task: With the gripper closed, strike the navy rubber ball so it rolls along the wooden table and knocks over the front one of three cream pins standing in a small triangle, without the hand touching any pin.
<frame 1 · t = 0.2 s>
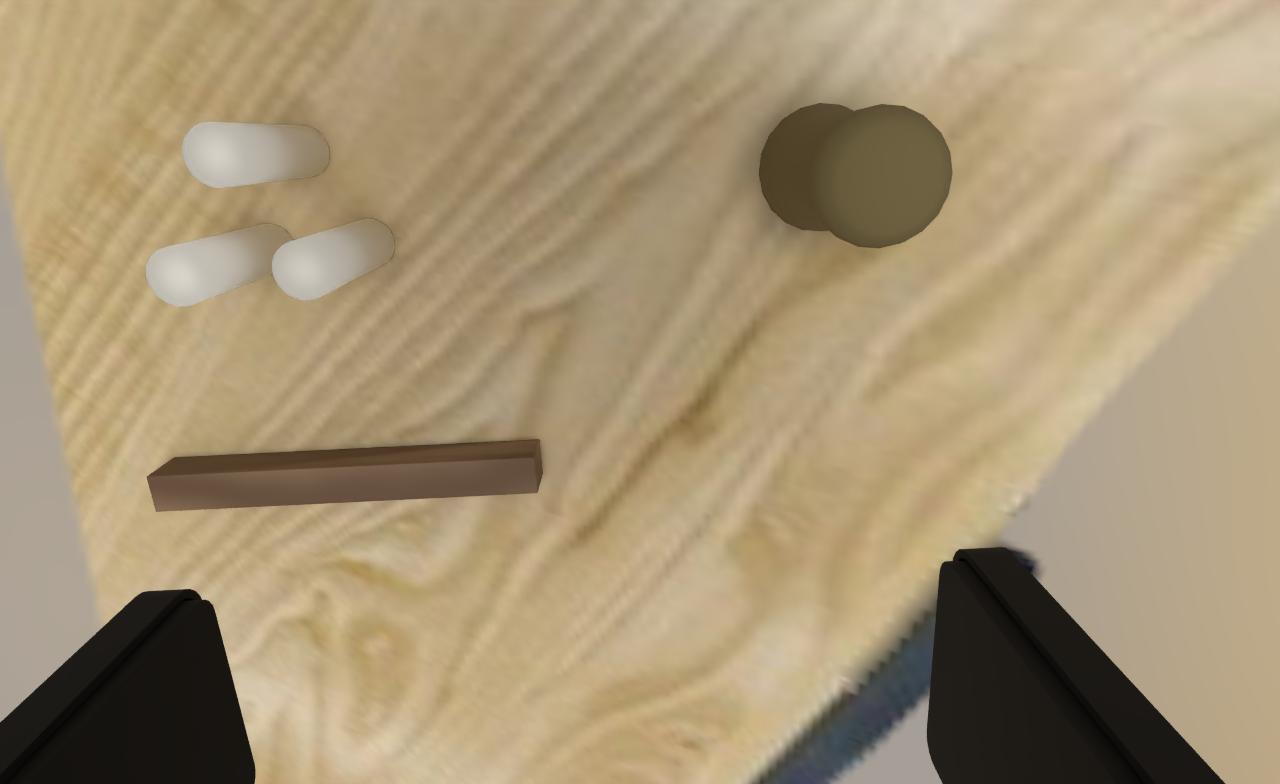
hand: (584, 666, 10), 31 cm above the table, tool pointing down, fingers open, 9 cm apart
pin 2: (271, 247, 39), on the table
brown wooden bar: (359, 465, 42), on the table
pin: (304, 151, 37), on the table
pin 1: (370, 243, 39), on the table
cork: (819, 168, 38), on the table
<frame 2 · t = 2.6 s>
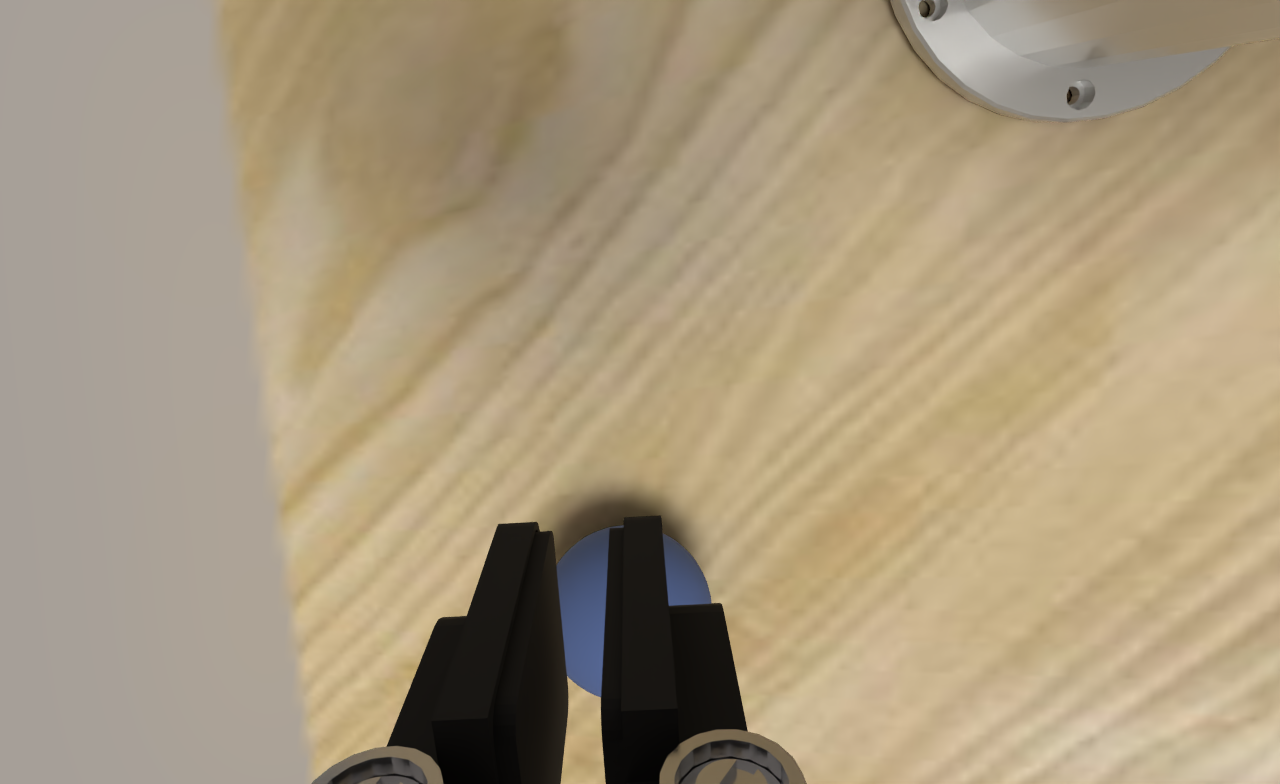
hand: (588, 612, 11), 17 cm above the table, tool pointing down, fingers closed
ball: (627, 610, 27), on the table
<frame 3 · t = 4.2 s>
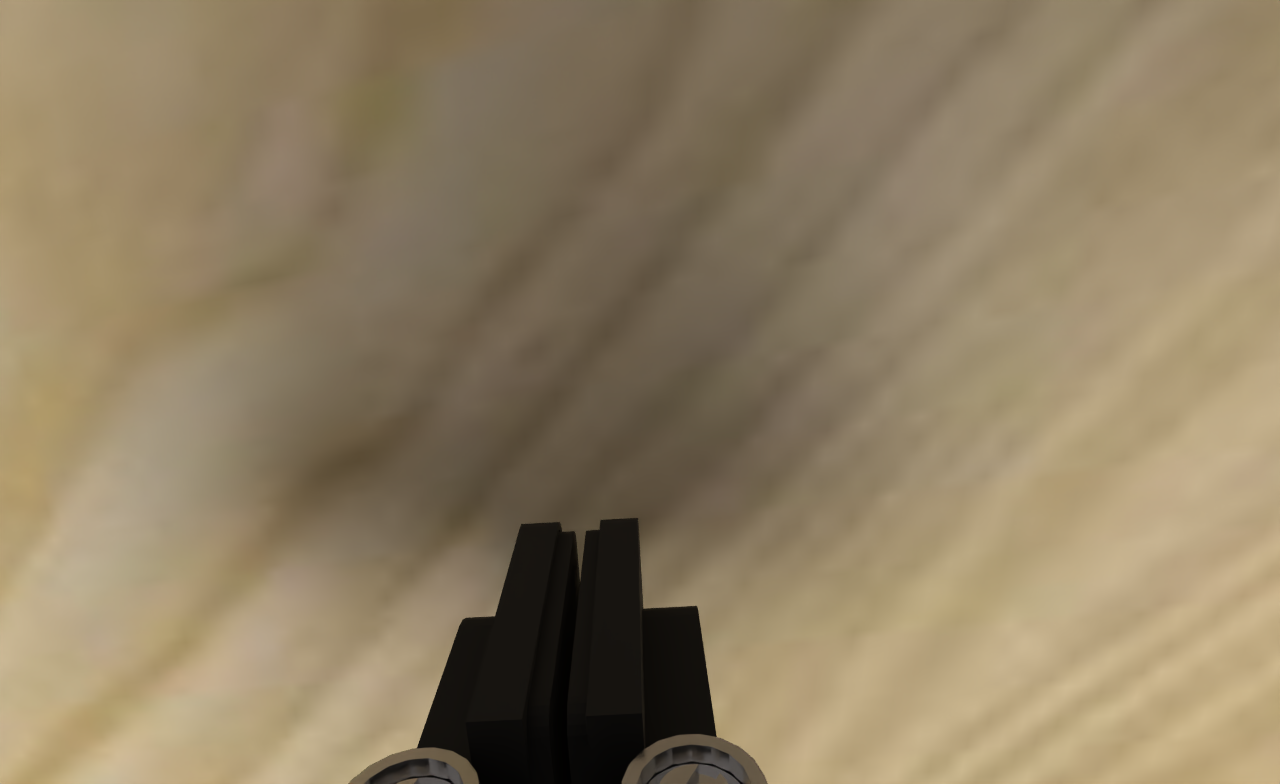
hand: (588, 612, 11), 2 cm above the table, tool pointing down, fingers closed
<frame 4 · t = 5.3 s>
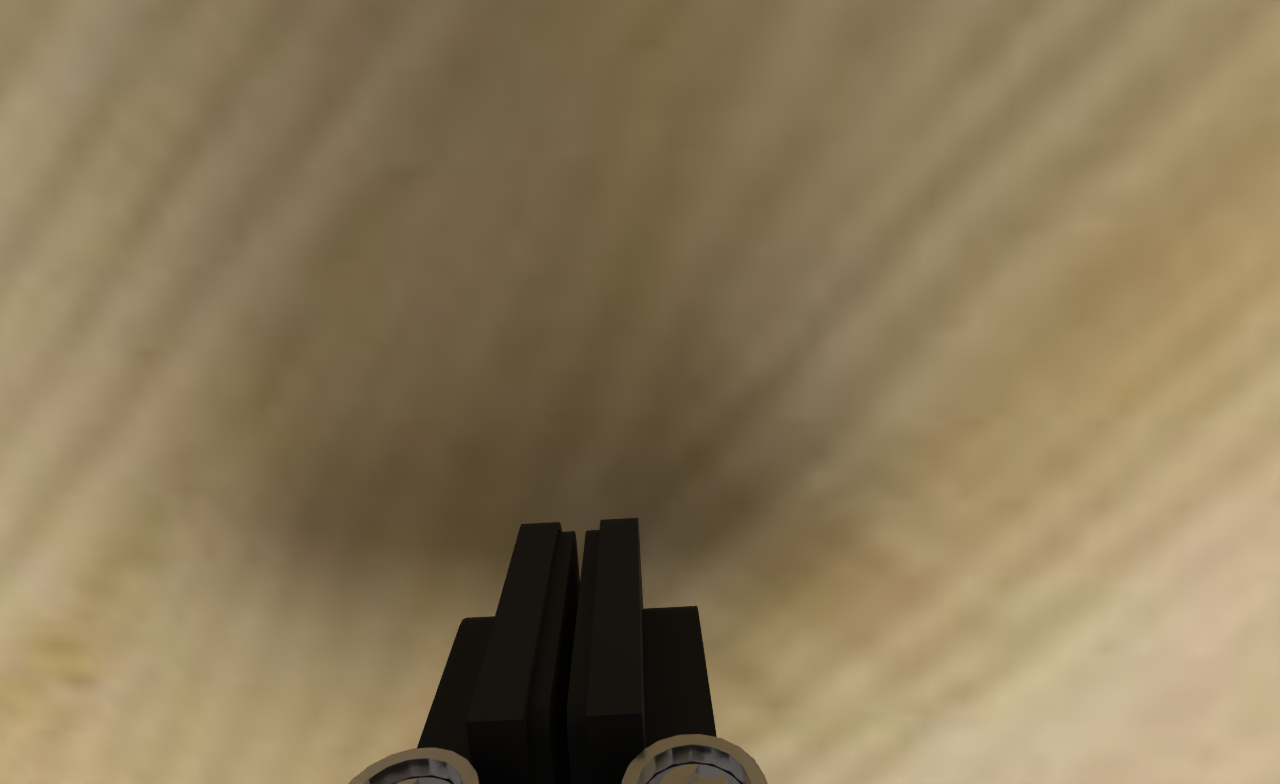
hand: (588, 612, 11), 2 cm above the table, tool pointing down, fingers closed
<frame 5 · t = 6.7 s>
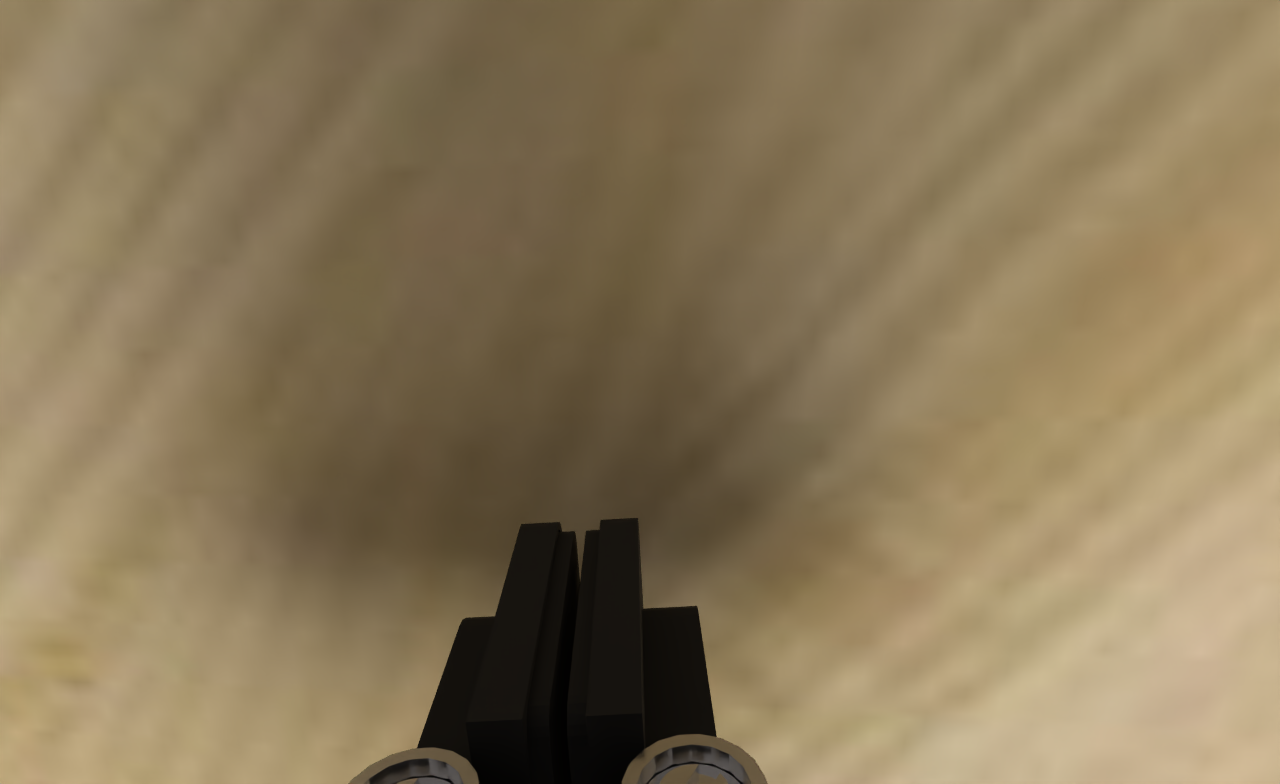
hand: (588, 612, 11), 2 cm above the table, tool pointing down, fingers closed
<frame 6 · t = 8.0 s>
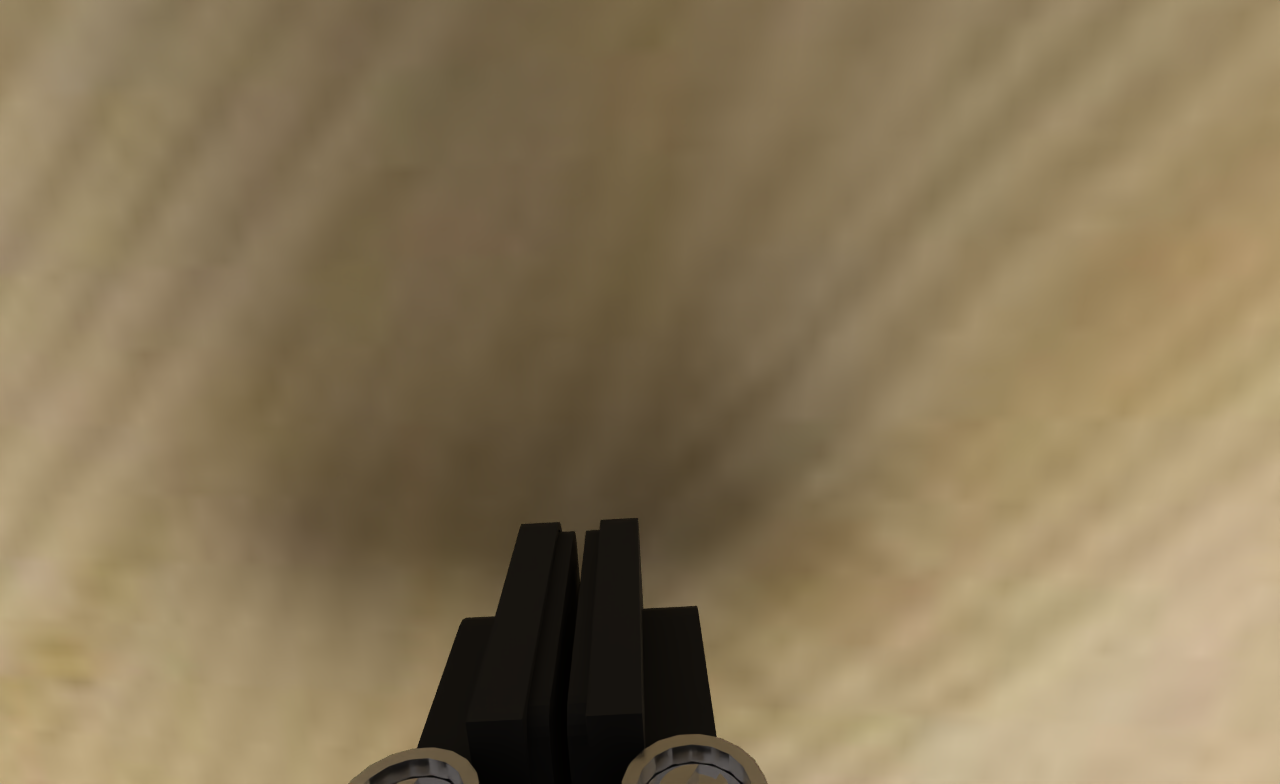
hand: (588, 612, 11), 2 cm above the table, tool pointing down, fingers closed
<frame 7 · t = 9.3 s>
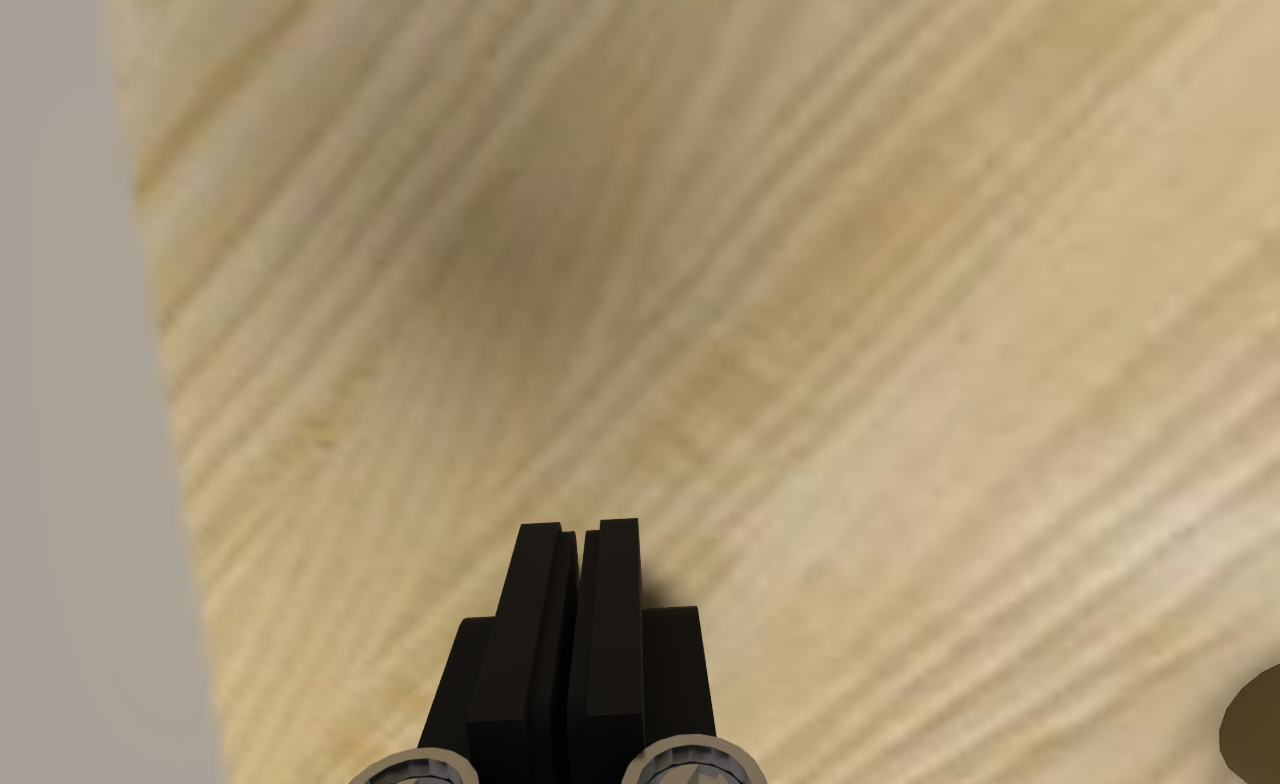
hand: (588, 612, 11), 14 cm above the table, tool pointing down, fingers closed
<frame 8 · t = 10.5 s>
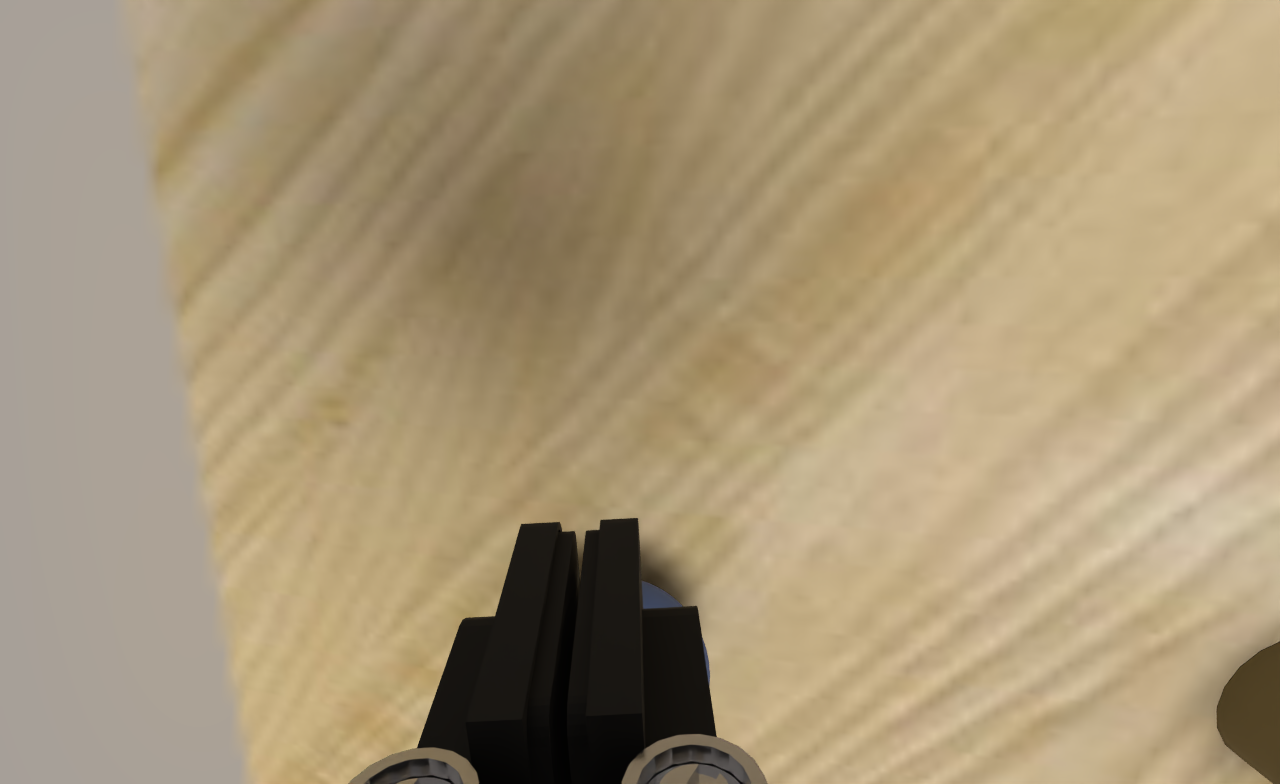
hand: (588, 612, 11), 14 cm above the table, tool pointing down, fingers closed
ball: (615, 673, 25), on the table
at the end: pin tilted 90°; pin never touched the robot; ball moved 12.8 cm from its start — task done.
